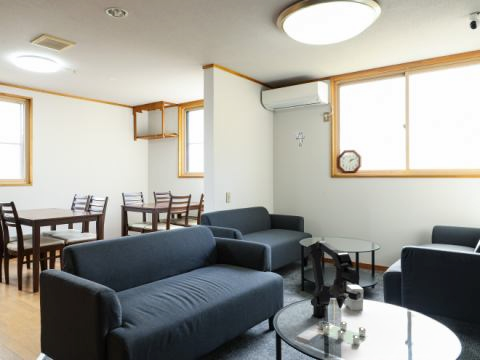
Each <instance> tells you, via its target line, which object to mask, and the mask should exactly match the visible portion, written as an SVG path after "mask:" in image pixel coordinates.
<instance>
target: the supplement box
mask: <svg viewBox="0 0 480 360" xmlns="http://www.w3.org/2000/svg"><path fill="white" fill-rule="evenodd" d="M347 287H348V289H347V291H350V292H351V291H352V290H355V291H359V292H360V293H361V298H359V299H358V300H353V299H350V298H349V297H347V298H346V299H345V301H346V302H345V303H346V305H345V306H347V307H348V308H349V309H350V310H351V311H362V310H361V309H364V288H363V287H361V285H359V284H347Z"/></svg>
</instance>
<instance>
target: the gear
mask: <svg viewBox="0 0 480 360" xmlns="http://www.w3.org/2000/svg"><path fill="white" fill-rule="evenodd" d="M325 325H326V326H330V322H328V321H327V320H320V321H318V328H319V329H320V330H321V331H323V326H325Z"/></svg>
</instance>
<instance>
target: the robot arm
mask: <svg viewBox="0 0 480 360" xmlns="http://www.w3.org/2000/svg"><path fill="white" fill-rule="evenodd" d="M324 252H325V254H327V255H328V256H329V257H331V260H332V261H333V265H332V266H333V267H335V276H334V279H333V283H328V282H325V279H324V275H323V274H324V273H323V267H322V266H323V265H322V258H323V256H324V254H323V253H324ZM306 253H307V256H308V258H309V260H310V261H311V264H312V270H313V271H312V272H313V279H314V285H315V288H314V291H313V297H312V298H311V300H310V304H311V306H312V307H313V308H312V310H313V311H312V314H311V316H312V317H314V318H316V319H319V320H321V319H324V318H326V317H327V315H328V314H327V313H328V309H327V307H328V306H329V304H330V302H331V296H333V297H334V298H335V300H336V303H337V305H338V309H342V307H343V306H344V304H345V301H346V300H347V297H349V298H350V299H353V300H358V299H359V298H361V293H360V292H359V291H355V290H352V291H351V292H350V291H347V289H348V287H347V285H348V283H350V284H351V285H357V284H358V282H360V281H359V280H360V276H359V273H358V272H357V269H355V268H354V262H353V261H352V258H351V256H350V254H349V253H348V252H347V251H344V250H339V249H338V248H336V247H334V245H331V244H330V243H328V242H327V240H317V241H316V242H315V243H312V244H310V245H308V246H307V248H306Z"/></svg>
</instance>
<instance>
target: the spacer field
mask: <svg viewBox="0 0 480 360" xmlns="http://www.w3.org/2000/svg"><path fill="white" fill-rule="evenodd" d="M347 325H348V324H347V322H346V321H340V323H339V327H340V330H338V340H337V341H339V342H342V341H343V340H344V331H346V330H347V327H348V326H347ZM329 329H330V327H329V326H326V325H325V326H323V334H324V335H323V336H325V335H326V337H328V335H329ZM358 333H359V336H357V335H353V345H352V346H354V347H359V346H360V344H359V341H360V337H362V338H365V336H366V328H365V327H363V326H362V327H358ZM365 339H366V338H365Z"/></svg>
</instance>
